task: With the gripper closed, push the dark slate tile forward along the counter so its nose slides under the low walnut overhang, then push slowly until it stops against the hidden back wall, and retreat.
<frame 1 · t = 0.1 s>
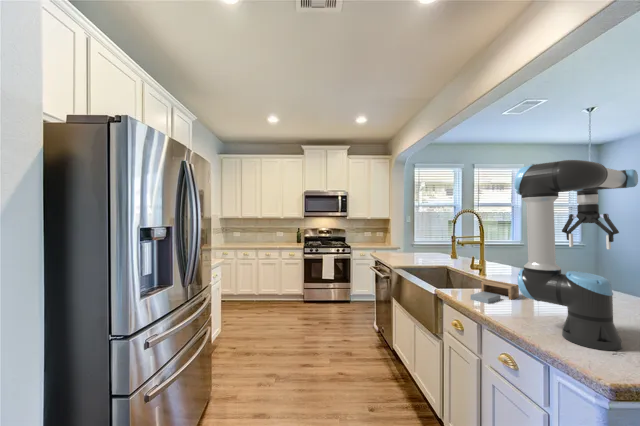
hand: (589, 247, 137), 28 cm above the worktop, fingers open, 13 cm apart
tile: (485, 300, 150), on the worktop
tan wooden channel: (495, 296, 155), on the worktop
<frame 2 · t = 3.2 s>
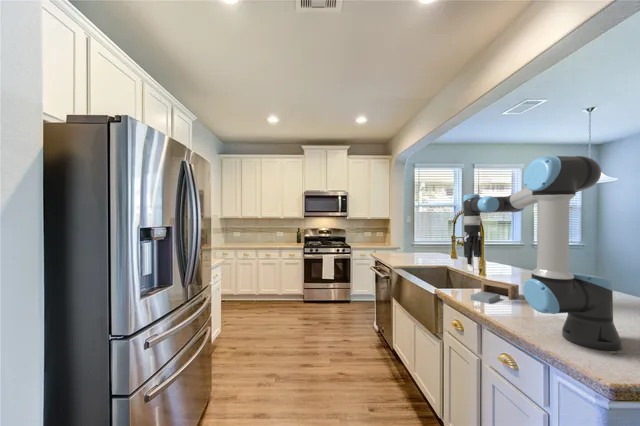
hand: (473, 270, 145), 17 cm above the worktop, fingers open, 4 cm apart
nothing on the worktop moved.
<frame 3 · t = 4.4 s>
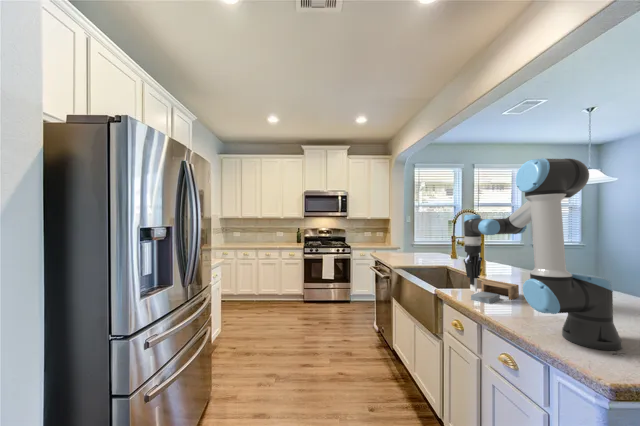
hand: (473, 290, 145), 6 cm above the worktop, fingers closed
nothing on the worktop moved.
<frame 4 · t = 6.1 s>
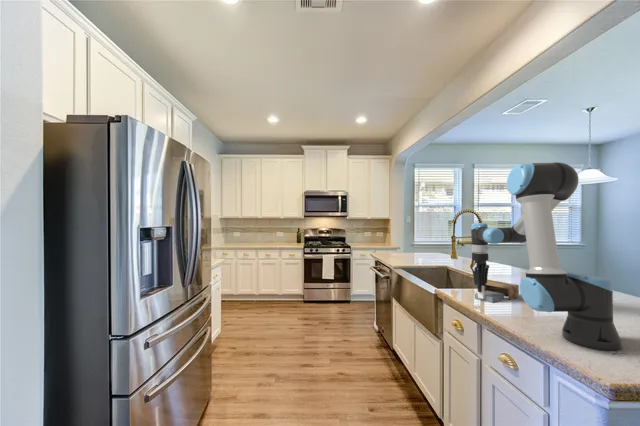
hand: (481, 297, 148), 1 cm above the worktop, fingers closed
tile: (489, 299, 151), on the worktop
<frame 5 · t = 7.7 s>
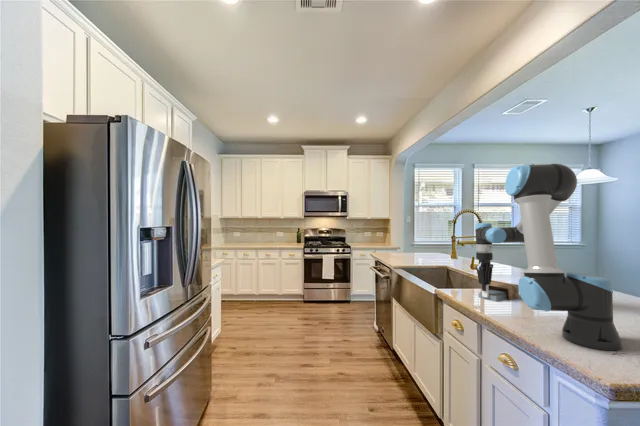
hand: (485, 296, 150), 1 cm above the worktop, fingers closed
tile: (493, 298, 153), on the worktop, touching gripper
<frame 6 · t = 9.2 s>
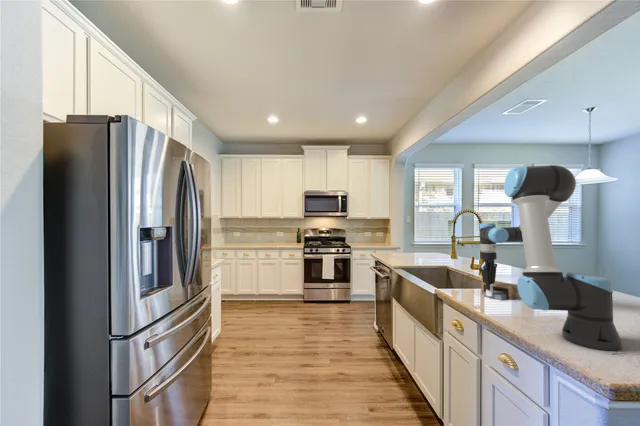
hand: (489, 295, 152), 1 cm above the worktop, fingers closed
tile: (498, 297, 155), on the worktop
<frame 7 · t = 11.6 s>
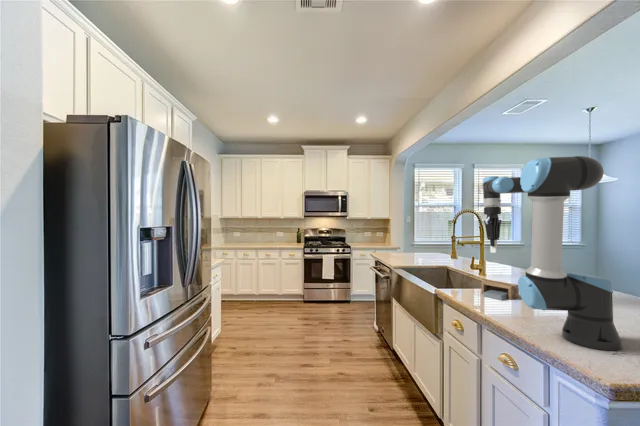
hand: (493, 252, 146), 25 cm above the worktop, fingers closed
nothing on the worktop moved.
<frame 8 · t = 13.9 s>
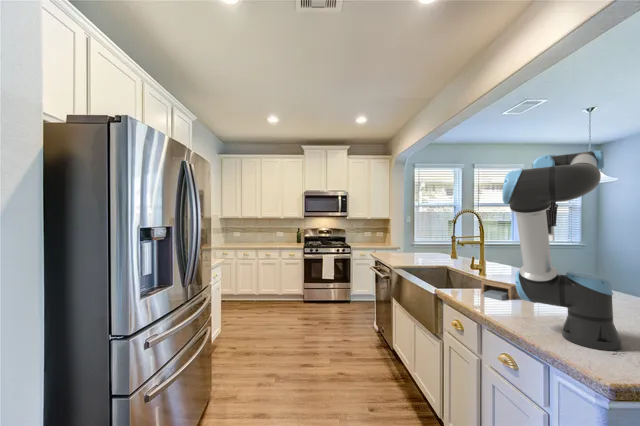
hand: (550, 240, 130), 32 cm above the worktop, fingers closed
nothing on the worktop moved.
at the end: tile 0.9 cm from the target spot, on the worktop; tile moved 10.8 cm from its start; the gripper is holding nothing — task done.
